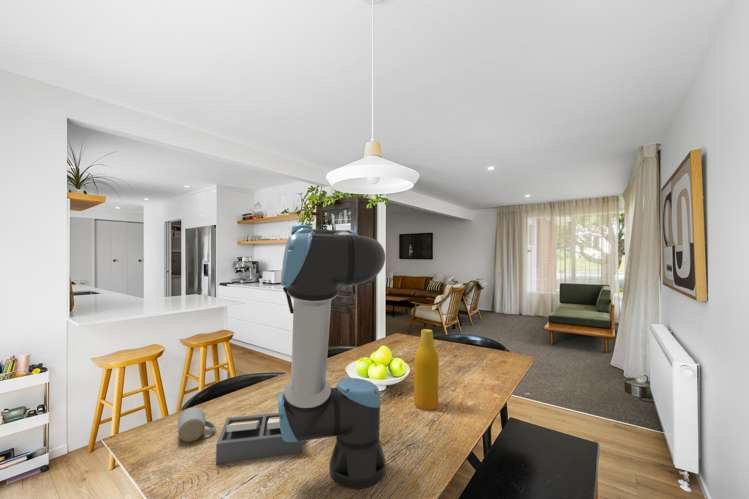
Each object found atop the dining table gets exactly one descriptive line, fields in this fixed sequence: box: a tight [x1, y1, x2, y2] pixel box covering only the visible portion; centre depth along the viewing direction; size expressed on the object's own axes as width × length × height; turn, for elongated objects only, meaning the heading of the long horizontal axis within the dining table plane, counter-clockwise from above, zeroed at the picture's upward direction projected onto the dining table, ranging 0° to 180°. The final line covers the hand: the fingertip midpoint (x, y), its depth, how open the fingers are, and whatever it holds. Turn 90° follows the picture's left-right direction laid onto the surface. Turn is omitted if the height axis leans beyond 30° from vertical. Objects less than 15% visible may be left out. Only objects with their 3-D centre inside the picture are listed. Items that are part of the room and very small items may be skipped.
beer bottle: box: [413, 328, 440, 411], centre depth 129 cm, size 9×9×29 cm
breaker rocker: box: [226, 420, 259, 432], centre depth 100 cm, size 10×9×2 cm
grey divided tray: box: [215, 412, 303, 465], centre depth 101 cm, size 15×23×8 cm, turn 104°
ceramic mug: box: [177, 406, 217, 443], centre depth 105 cm, size 11×8×8 cm
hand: (300, 332), depth 121 cm, fingers closed
